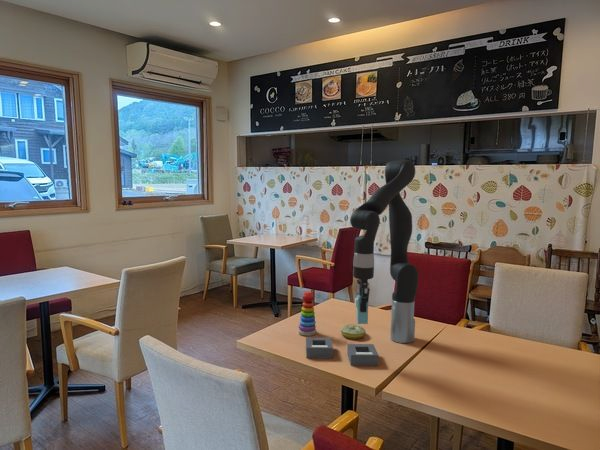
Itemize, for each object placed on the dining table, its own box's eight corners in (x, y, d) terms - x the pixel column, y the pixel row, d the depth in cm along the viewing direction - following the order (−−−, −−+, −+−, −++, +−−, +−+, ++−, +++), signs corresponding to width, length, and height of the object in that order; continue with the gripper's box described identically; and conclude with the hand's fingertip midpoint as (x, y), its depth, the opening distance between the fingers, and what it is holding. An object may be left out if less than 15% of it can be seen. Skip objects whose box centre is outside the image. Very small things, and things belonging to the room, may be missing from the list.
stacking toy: (316, 336, 175) (317, 294, 173) (297, 336, 175) (298, 294, 173) (316, 330, 183) (316, 289, 181) (298, 329, 183) (298, 289, 181)
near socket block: (373, 354, 158) (373, 343, 158) (378, 365, 148) (378, 354, 148) (347, 353, 158) (347, 343, 158) (350, 365, 148) (351, 354, 148)
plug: (366, 320, 154) (366, 294, 152) (367, 323, 150) (368, 297, 149) (354, 320, 153) (354, 294, 152) (355, 323, 150) (356, 297, 149)
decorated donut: (368, 334, 179) (369, 325, 179) (360, 342, 170) (360, 333, 169) (347, 329, 184) (347, 321, 184) (337, 337, 175) (337, 328, 175)
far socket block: (330, 347, 164) (330, 337, 164) (332, 358, 154) (333, 347, 154) (305, 347, 164) (305, 337, 163) (306, 358, 154) (306, 347, 154)
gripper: (377, 269, 142) (376, 316, 144) (370, 261, 156) (368, 304, 158) (356, 268, 142) (354, 316, 144) (350, 260, 156) (349, 304, 158)
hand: (362, 310), depth 151 cm, fingers closed on plug, 3 cm apart
